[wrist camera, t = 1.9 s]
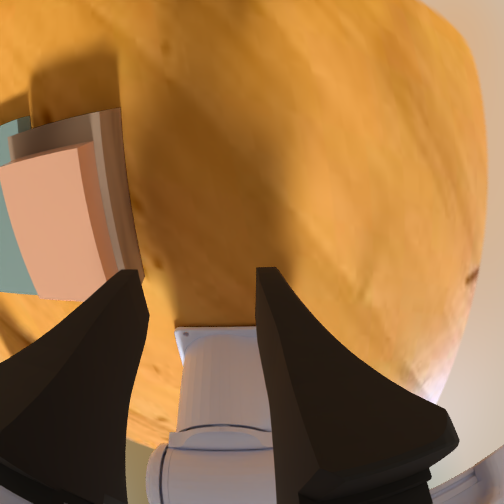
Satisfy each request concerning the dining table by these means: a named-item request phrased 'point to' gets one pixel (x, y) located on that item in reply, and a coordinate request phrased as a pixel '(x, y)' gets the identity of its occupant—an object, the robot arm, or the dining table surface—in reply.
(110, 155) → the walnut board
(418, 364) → the dining table surface
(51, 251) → the terracotta tile
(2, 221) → the teal rectangular slab
